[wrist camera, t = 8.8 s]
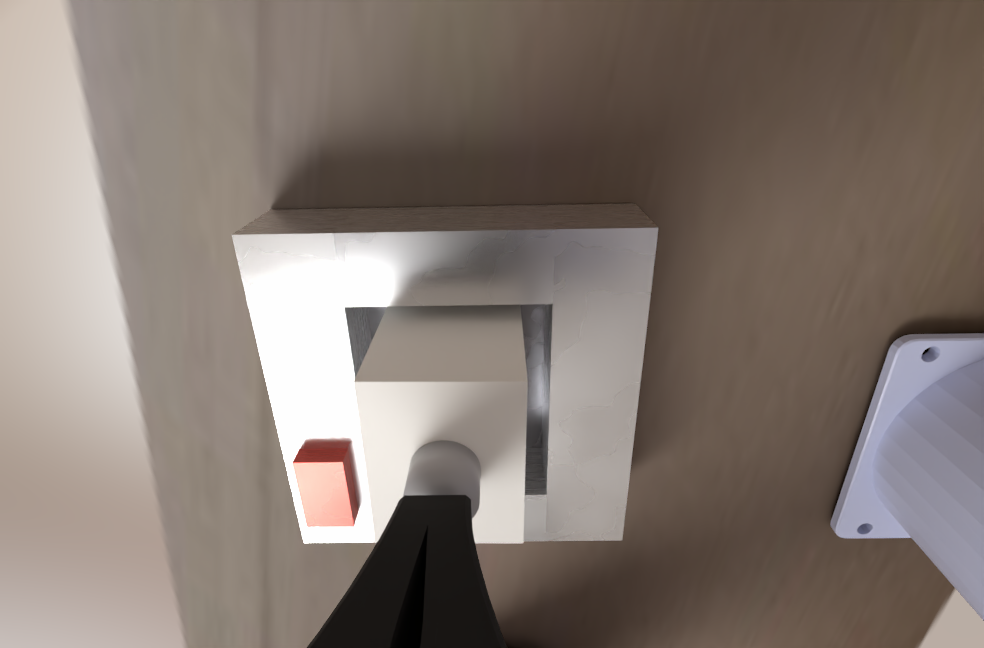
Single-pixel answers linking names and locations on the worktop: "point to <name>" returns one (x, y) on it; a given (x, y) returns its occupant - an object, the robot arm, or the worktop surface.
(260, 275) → the socket plate
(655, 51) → the worktop surface
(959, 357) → the robot arm
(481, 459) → the plug
